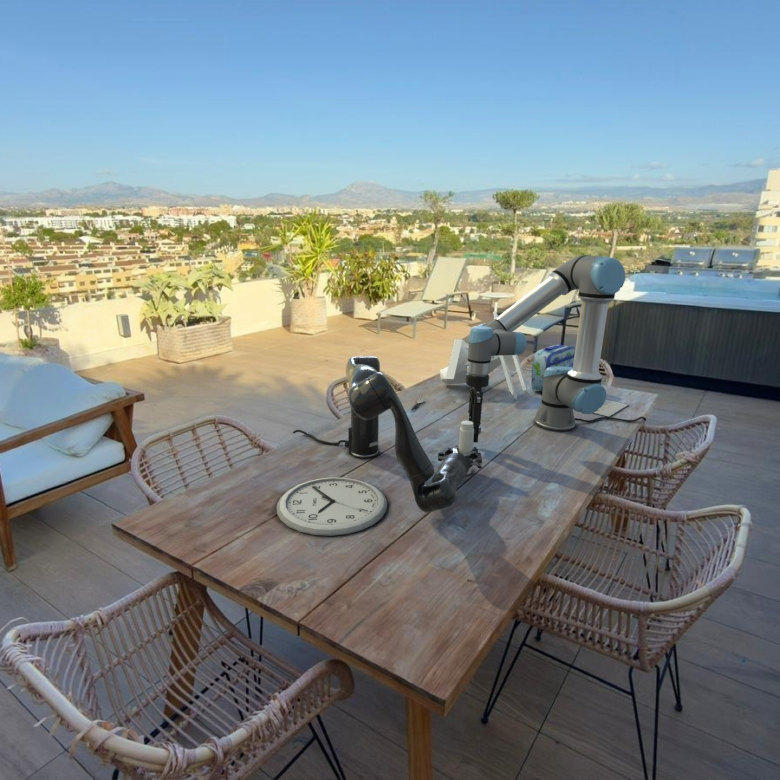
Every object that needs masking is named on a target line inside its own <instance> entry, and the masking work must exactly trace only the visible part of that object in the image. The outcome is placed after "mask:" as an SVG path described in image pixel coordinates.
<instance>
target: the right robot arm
mask: <svg viewBox="0 0 780 780" xmlns="http://www.w3.org/2000/svg"><path fill="white" fill-rule="evenodd" d="M625 270H626V269H625V267H624V266H623V264H622V263H621V261H620V260H618V259H617V258H614V257H610V256H606V255H603V256H601V255H590V254H581V255H578V256H577V255H576V256H574V257H572V258H571V259H569V260H566V261H565V262H563V263H562V264H560V265H559V266H557V267H556V268H555V269H553V270H552V271H551V272H550V273H549V274H548V276H547V279H546V280H544V281H542V282H541V283H540V284H538V286H536V287H535V288H533V289H532V290H530V291H529V292H528V293H527V294H526V295H525V296H523V297H522V298H520V299H519V300H518V301H516V302H515V303H514V304H512V306H510V307H508V308H507V309H506V310H505V311H503V312H502V313H500V315H498V317H497V318H496V319H495V318H493V320H491V321H490V322H489V323H481V324H479V325H475V326H473V327H471V328H470V330H469V336H468V346H469V347H468V363H466V364H465V366H467V372H468V373H467V374H466V383H465V384H466V386H468V387H469V402H468V411H467V413H468V421H471V422H473V426H474V427H473V428H474V439H473V444H474V443H477V444H478V442H479V435H478V433H479V425H480V426H481V419H482V410H483V409H482V408H483V400H484V397H483V396H484V391H483V389H482V388H487V387H488V386H489V382H490V375H489V374H490V373H491V372H490V364H491V356H499V355H518V356H519V355H522V354H524V353H525V351H526V349H527V337H526V335H525V334H524V333H523V332H520V331H519V332H518V331H516V330H517V329H518V328H520V327H521V326H522V325H524V324H525V323H526V322H528V321H529V320H531V319H532V318H533V317H534V316H536V315H537V314H538V313H540V312H541V311H543V309H545V308H546V307H547V306H549V305H550V304H552V302H554V301H555V300H557V299H558V298H559V297H561V296H567V295H568V294H570V293H571V292H572V291H575V290H578V291H577V292H578V293H577V297H578V298H579V300H580V301H581V306H580V313H579V321H578V328H577V334H576V335H577V336H576V343H575V356H574V363H573V367H563V366H556V367H549V368H547V369H546V370H545V374H544V382H543V391H541V393H542V394H541V402H540V405H539V407H538V410H537V411H536V413H535V417H534V424H535V425H536V426H537V427H539V428H542V429H544V430H549V431H556V432H567V431H572V430H574V429H575V428H576V421H579V422H584V423H594V422H596V421H599V420H615V421H621V422H625V423H626V422H627V423H634V422H638V421H640V420H642V419H643V420H644V421H647V418H646V417H645V416H639V417H637V418H635V419H624V418H619V417H612V416H609V417H608V416H600V417H597V418H594V419H582V418H577V417H576V416H575V413H574V412H578V413H581V414H583V415H590V414H595V413H594V412H596V411H597V410H598V409H599V408H601V407H602V405H603V404H604V402H605V400H607V394H608V393H607V390H606V389H605V387H604V386H603V385H602V381H603V376H602V374H601V373H600V372H599V369H600V363H601V355H602V349H603V343H604V336H605V329H606V323H607V318H608V317H607V316H608V309H609V304H610V303H611V302H613V300H615V297H616V294H617V293H618V292H620V290H621V288H623V287H624V284H625V282H626V271H625Z"/></svg>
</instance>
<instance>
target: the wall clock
mask: <svg viewBox="0 0 780 780" xmlns="http://www.w3.org/2000/svg"><path fill="white" fill-rule="evenodd" d="M387 509H388V500H387V498H386V496H385V494H384V493H383V492H382V491H381V490H380V489H379V488H377V487H376V486H374V485H372V484H371V483H369V482H365V481H362V480H359V479H355V478H349V477H338V476H337V477H335V476H333V477H332V476H331V477H322V478H317V479H312V480H307V481H305V482H302V483H299V484H297V485H295V486H293V487H292V488H290V489H288V490H287V491H286V492H285V493H284V494H283V495H281V496H280V498H279V499H278V502H277V503H276V515H277V517H278V518H279V520H280V521H281V522H282V523H283V524H285V525H286V526H287V527H288V528H290V529H293V530H295V531H297V532H299V533H303V534H308V535H312V536H327V537H328V536H329V537H331V536H332V537H333V536H342V535H350V534H352V533H356V532H361V531H363V530H366V529H368V528H369V527H372V526H373V525H375V524H376V523H378V522H379V521H380V520H381V519H382V518H383V517H384V516H385V514H386V512H387Z"/></svg>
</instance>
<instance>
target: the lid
mask: <svg viewBox="0 0 780 780" xmlns="http://www.w3.org/2000/svg"><path fill="white" fill-rule="evenodd" d="M481 433H482V425H481V424H480V425H479V433H478V436H479V435H480V434H481Z"/></svg>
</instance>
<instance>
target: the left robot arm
mask: <svg viewBox="0 0 780 780" xmlns="http://www.w3.org/2000/svg"><path fill="white" fill-rule="evenodd" d="M345 376H346V380H347V383H348V389H347V390H348V391H347V398H348V399H347V400H348V403H349V405H350V425H349V426H348V427H347V429H348V431H347V432H348V437H347V438H345V439H340V440H338V442H331V441H325V440H323V439H322V440H321V439H318V438H317V437H315V436H314V435H312V434H311V433H308V432H306V431H304V430H301V429H294V431H292V434H296V433H301V434H303V435H305V436H307V437H309V438H312V439H313V440H314V441H316V442H317V443H321V444H324V445H329V446H340V444H341V443H344V448H347V449H348V454H349V455H352V456H353V457H355V458H359V459H369V458H370V459H371V458H374V457H376V456H378V455H379V444H380V440H379V434H380V433H379V432H380V431H379V430H380V429H379V427H380V426H379V425H380V424H379V421H380V419H379V417H380V415H382V414H383V413H385V412H387V411H388V410H390V411H391V413H392V415H393V419H394V423H395V428H394V429H395V439H394V449H395V450H394V451H395V457H396V459H397V462H398V464H399V465H400V467H401V468H402V471H403V472H404V473H405V475H406V477H407V478H408V480H409V484H410V486H411V489H412V492H413V496H414V501H415V505H416V507H417V508H418V509H419V510H420V511H422V512H423V513H426V514H429V513H434V512H437V511H441V510H444V509H447V508H450V507H452V506H453V505H455V504H456V502H457V496H458V495H457V492H458V487H459V485H460V484H462V482H463V481H464V479H465V478H466V474H467V472H468V470H469V468H471V469H472V468H473V466H475V467H477V469H483V468H482V467H483V456H482V452H479V449H478V447H477V446H473V450H472V452H467V453H466V454H460V453H458V449H459V443H458V444H456V445H455V446H454V447H452V448H451V447H446V448H444V449H442V450H441V451H438V452H437V461H438V462H441V463H440V465H439V467H438V468H437V471H436V472H435V467H434V465H433V462H432V461H431V460H430V458H429V456H428V454H427V453H426V451H425V450H424V448H423V446H422V444H421V442H420V441H419V438H418V437H417V434H416V432H415V429H414V428H413V426H412V425H413V424H412V422H411V421H410V418H409V416H408V414H407V412H406V409H405V407H404V406H403V403H402V402H401V399H400V397H399V395H398V394H397V391H396V390H395V388H394V385H392V382H391V381H390V380H389V378H388V377H387V376H386V375H385V374H384V373H382V372H381V363H380V360H379V358H378V357H377V356H372V355H371V356H370V355H369V356H351V357H350V358H349V359H348V360H347V362H346V365H345ZM307 433H308V434H307ZM467 475H468V474H467ZM430 479H431V483H428V484H427V482H428V481H429V480H430Z"/></svg>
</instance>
